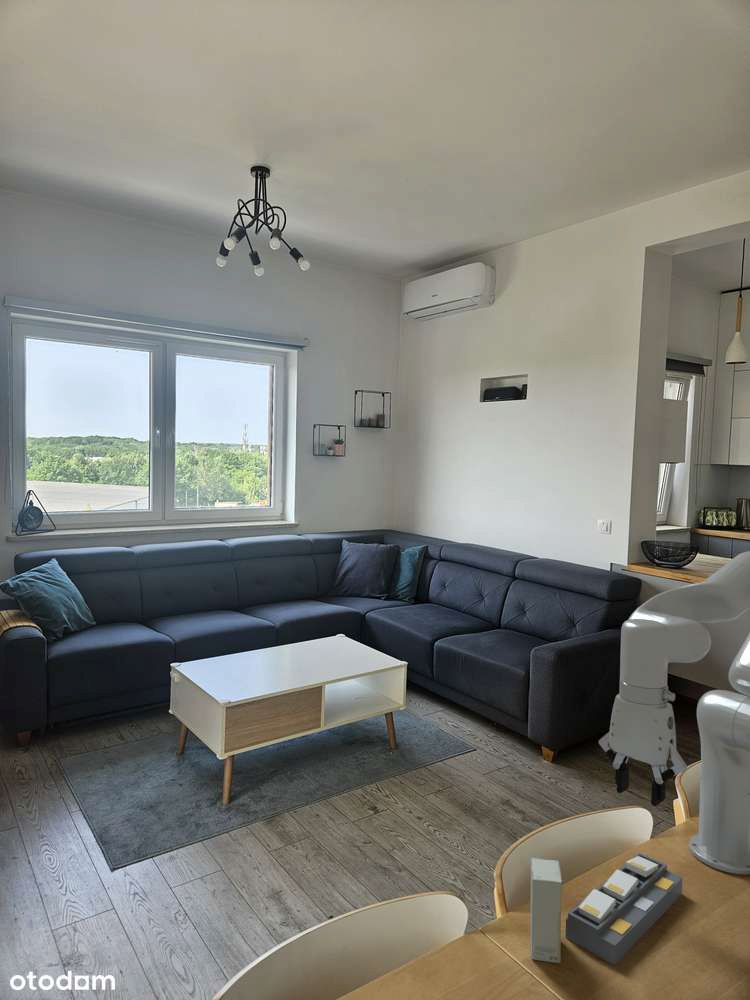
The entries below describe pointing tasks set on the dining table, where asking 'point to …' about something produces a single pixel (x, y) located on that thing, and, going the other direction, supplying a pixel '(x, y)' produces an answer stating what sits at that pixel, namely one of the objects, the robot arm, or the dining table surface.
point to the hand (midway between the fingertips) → (639, 795)
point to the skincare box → (545, 910)
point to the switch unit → (626, 914)
